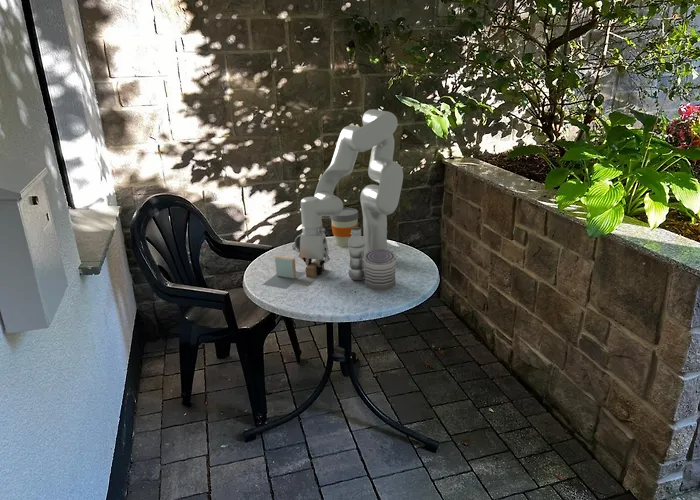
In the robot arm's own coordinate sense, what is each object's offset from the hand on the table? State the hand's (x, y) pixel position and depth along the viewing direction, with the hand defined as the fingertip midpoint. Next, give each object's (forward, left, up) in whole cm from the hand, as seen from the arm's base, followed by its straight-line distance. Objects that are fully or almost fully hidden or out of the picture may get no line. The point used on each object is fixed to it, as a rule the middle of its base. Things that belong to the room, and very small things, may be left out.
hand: (315, 273), depth 192 cm
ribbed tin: (-27, 0, -1) cm, 27 cm away
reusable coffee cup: (+3, -35, -1) cm, 35 cm away
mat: (+9, +8, 0) cm, 12 cm away
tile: (+9, +7, 0) cm, 11 cm away
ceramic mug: (+18, -23, -1) cm, 29 cm away
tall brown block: (0, +3, 0) cm, 3 cm away
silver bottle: (-17, -2, 0) cm, 17 cm away
